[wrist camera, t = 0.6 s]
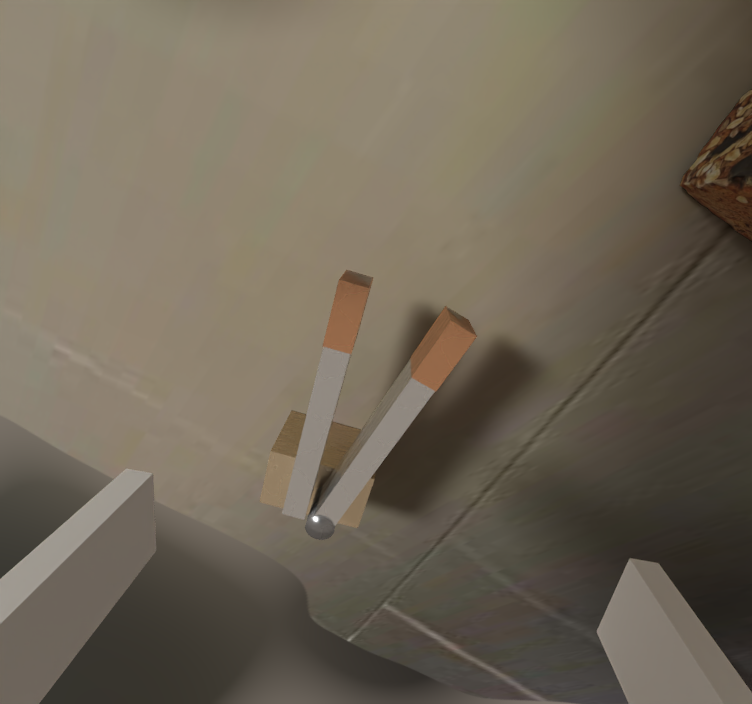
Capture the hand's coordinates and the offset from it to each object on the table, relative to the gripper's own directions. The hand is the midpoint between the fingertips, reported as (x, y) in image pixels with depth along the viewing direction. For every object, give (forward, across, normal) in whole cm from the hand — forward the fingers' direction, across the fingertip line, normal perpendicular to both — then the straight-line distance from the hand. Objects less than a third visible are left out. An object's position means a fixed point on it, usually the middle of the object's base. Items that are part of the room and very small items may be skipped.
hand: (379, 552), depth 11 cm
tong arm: (+16, 0, -4) cm, 17 cm away
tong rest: (+22, -4, -4) cm, 23 cm away
